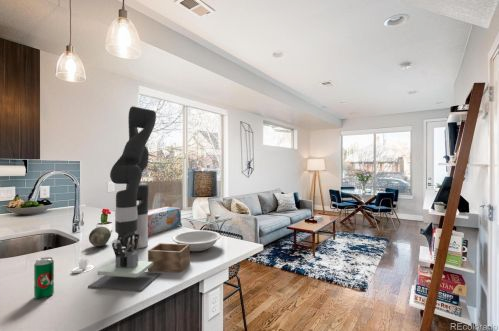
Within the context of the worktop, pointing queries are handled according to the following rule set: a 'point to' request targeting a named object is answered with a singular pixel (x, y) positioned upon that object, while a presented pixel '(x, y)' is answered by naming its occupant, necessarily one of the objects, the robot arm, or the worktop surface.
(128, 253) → the lid
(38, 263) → the soda can
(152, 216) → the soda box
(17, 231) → the worktop surface
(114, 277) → the rubber mat
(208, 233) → the white sink basin
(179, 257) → the walnut box
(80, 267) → the teacup and saucer
